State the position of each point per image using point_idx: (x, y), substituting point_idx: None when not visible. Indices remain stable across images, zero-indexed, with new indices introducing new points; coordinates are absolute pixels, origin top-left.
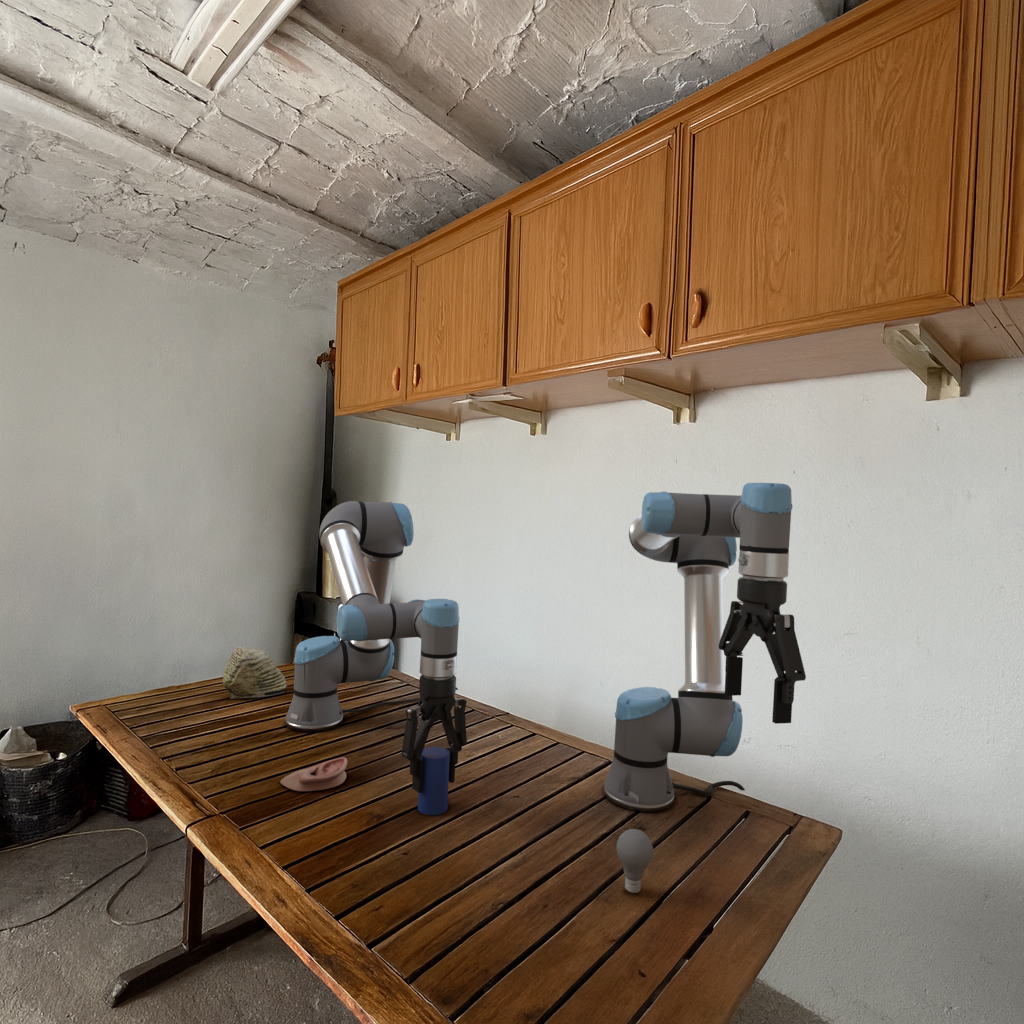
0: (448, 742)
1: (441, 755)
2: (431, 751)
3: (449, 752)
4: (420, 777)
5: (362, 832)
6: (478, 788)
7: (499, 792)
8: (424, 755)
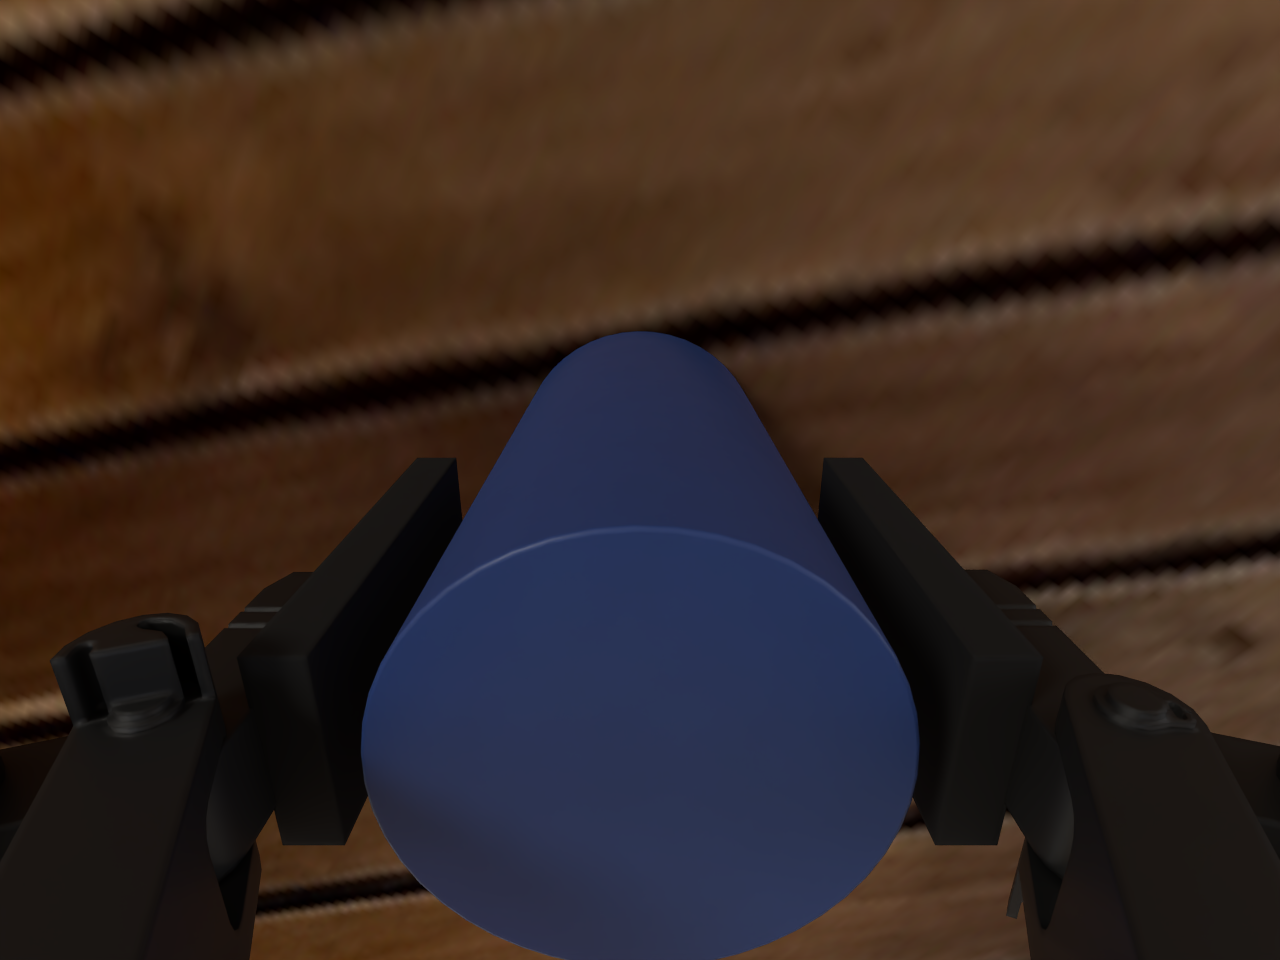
0: (1074, 771)
1: (662, 910)
2: (611, 718)
3: (850, 890)
4: None
5: (40, 456)
6: (1154, 384)
7: (1209, 531)
8: (404, 787)
